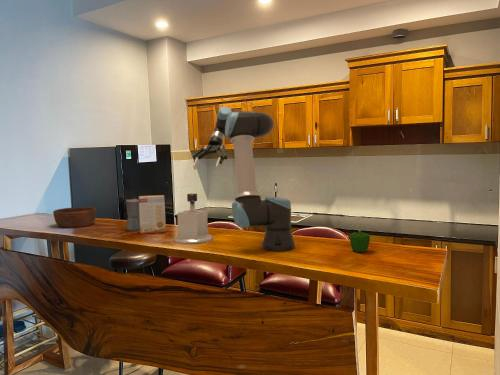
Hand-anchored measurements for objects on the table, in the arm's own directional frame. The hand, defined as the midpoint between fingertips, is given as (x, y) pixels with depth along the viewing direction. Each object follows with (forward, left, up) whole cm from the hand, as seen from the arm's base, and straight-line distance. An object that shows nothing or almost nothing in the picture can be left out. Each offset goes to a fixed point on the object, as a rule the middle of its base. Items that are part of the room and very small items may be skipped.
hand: (205, 167), depth 198 cm
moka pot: (+42, +24, -37) cm, 61 cm away
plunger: (-6, +12, -35) cm, 37 cm away
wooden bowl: (+83, +45, -37) cm, 102 cm away
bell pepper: (-77, -29, -37) cm, 90 cm away
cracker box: (+26, +19, -37) cm, 49 cm away
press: (-6, +12, -36) cm, 39 cm away
